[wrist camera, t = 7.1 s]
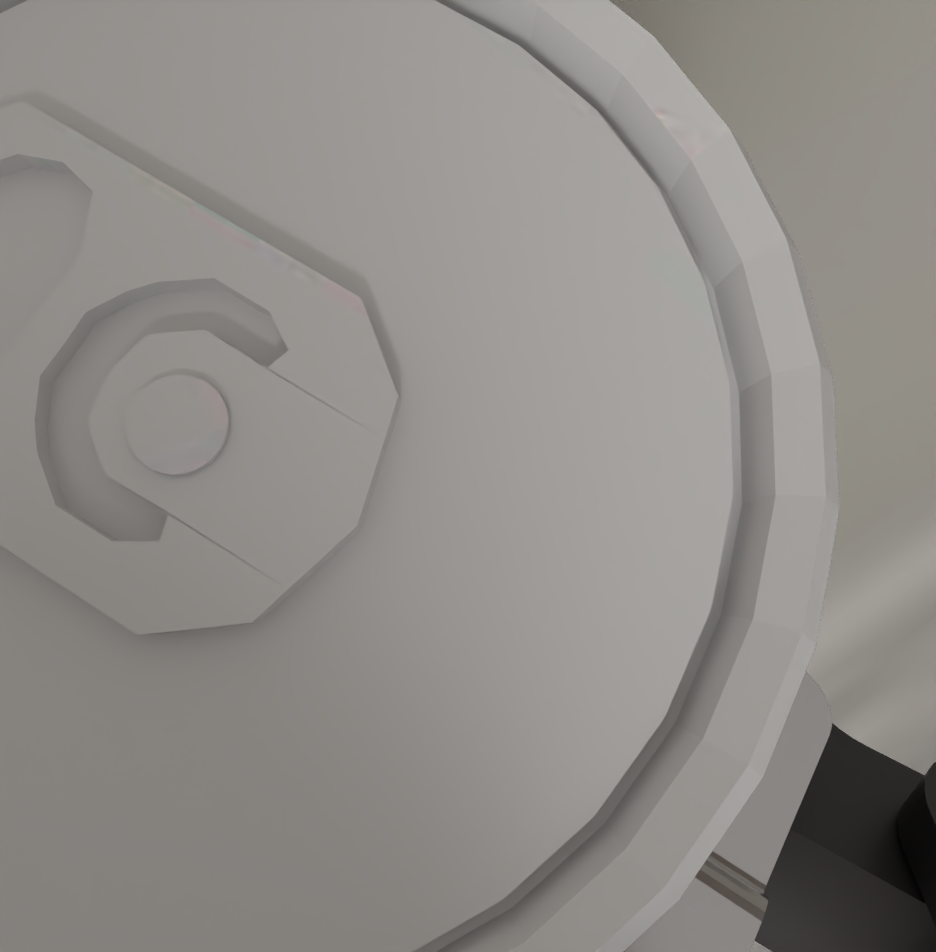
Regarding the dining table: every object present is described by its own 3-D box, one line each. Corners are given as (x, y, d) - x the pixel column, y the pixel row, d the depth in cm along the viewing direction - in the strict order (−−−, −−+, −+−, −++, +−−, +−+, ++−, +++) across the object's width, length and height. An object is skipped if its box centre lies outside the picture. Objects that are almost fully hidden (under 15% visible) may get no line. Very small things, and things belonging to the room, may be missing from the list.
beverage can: (310, 446, 19) (-322, -239, 4) (577, 474, 19) (924, -147, 4) (270, 721, 18) (-749, 1115, 3) (552, 754, 18) (894, 1344, 3)
